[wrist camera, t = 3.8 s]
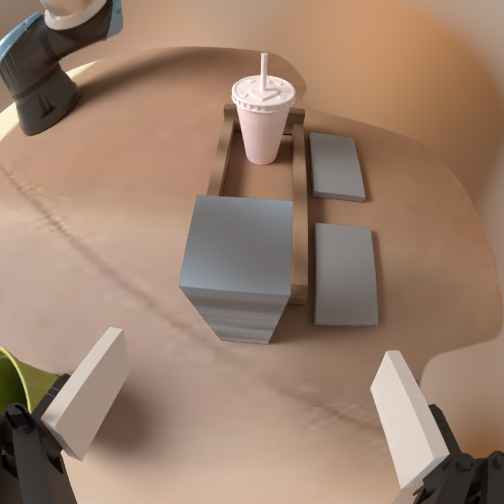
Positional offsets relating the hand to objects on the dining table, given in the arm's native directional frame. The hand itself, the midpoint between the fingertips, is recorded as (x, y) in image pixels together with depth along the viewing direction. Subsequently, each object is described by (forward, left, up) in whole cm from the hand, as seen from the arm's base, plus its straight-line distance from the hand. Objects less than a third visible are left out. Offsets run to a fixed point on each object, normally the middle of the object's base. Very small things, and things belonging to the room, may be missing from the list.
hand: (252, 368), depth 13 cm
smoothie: (-24, -1, -11) cm, 27 cm away
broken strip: (-16, +8, -11) cm, 21 cm away
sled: (-17, -1, -11) cm, 20 cm away
